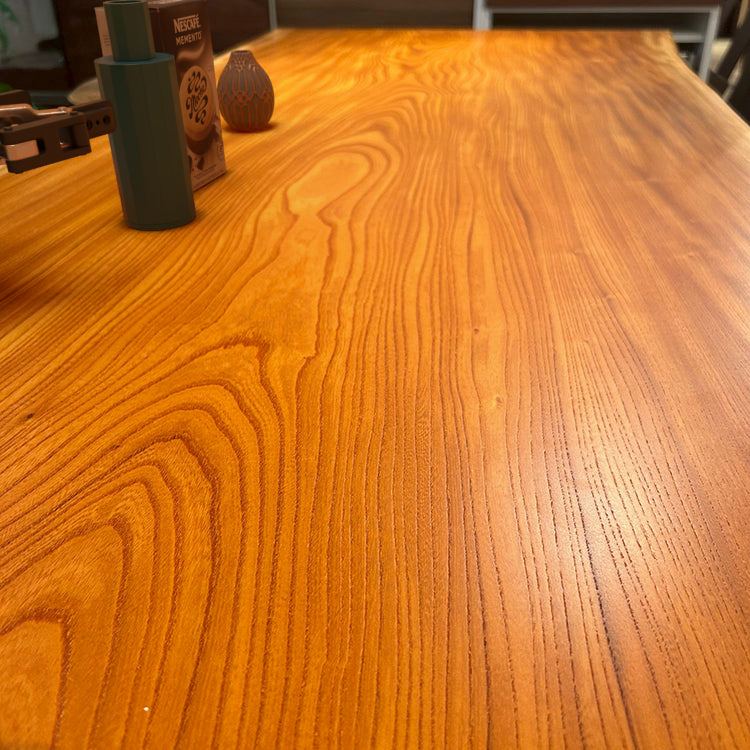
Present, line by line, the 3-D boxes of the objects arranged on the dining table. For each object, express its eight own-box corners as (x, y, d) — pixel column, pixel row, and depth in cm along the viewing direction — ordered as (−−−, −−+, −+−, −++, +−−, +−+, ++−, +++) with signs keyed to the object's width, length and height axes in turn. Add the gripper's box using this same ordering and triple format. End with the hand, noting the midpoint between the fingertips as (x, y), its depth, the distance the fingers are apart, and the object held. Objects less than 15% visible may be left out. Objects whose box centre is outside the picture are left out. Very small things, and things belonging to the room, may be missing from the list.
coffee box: (185, 199, 71) (157, 6, 63) (125, 194, 73) (89, 6, 65) (229, 171, 79) (209, -4, 71) (173, 167, 81) (147, -4, 72)
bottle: (112, 228, 65) (68, 5, 56) (143, 205, 70) (107, -3, 61) (179, 232, 64) (144, 5, 55) (206, 208, 69) (178, -3, 60)
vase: (232, 137, 91) (223, 57, 87) (212, 125, 97) (203, 50, 92) (285, 129, 94) (280, 52, 90) (263, 118, 100) (257, 45, 95)
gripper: (-99, 107, 39) (131, 60, 51) (-247, 86, 45) (-10, 48, 57) (-55, 247, 43) (150, 172, 55) (-197, 210, 49) (16, 150, 61)
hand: (68, 109), depth 56 cm, fingers open, 8 cm apart
